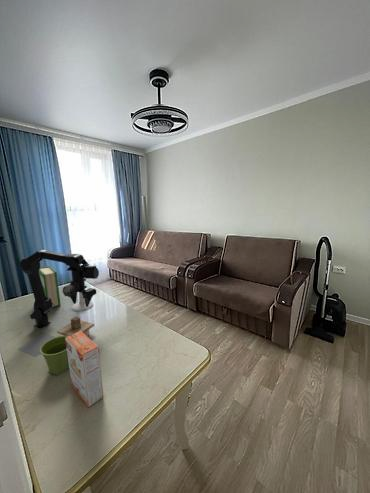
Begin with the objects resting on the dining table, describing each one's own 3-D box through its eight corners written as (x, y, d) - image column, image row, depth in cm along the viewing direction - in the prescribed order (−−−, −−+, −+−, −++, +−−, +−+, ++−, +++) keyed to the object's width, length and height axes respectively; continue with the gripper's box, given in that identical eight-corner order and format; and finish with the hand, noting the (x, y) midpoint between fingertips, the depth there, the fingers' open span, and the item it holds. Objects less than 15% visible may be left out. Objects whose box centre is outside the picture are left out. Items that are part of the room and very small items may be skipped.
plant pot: (52, 385, 79) (49, 359, 77) (37, 371, 85) (34, 347, 83) (82, 365, 89) (79, 341, 87) (66, 354, 95) (64, 332, 93)
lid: (57, 332, 103) (55, 322, 102) (77, 320, 114) (76, 310, 113) (74, 338, 99) (73, 327, 98) (94, 325, 110) (93, 315, 109)
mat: (17, 350, 98) (17, 348, 98) (45, 334, 110) (44, 333, 110) (35, 357, 93) (35, 356, 93) (62, 340, 105) (62, 339, 105)
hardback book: (60, 305, 140) (56, 271, 135) (47, 309, 135) (43, 274, 130) (53, 297, 152) (49, 265, 147) (41, 300, 147) (37, 268, 142)
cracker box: (70, 386, 79) (64, 336, 75) (86, 376, 83) (81, 329, 79) (87, 409, 70) (81, 355, 66) (104, 397, 74) (99, 345, 70)
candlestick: (86, 300, 148) (82, 259, 142) (97, 305, 141) (93, 262, 135) (68, 307, 138) (63, 263, 132) (78, 313, 130) (73, 267, 124)
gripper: (51, 280, 107) (55, 308, 110) (78, 286, 100) (81, 315, 103) (70, 274, 117) (73, 299, 120) (96, 278, 110) (98, 305, 113)
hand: (80, 305), depth 114 cm, fingers open, 9 cm apart
